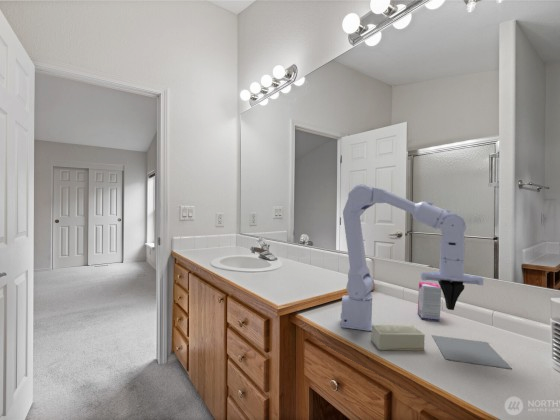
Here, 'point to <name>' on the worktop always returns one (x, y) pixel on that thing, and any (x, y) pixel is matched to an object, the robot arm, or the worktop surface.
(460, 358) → the rubber mat
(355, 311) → the robot arm
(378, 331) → the skincare box
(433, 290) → the supplement box
